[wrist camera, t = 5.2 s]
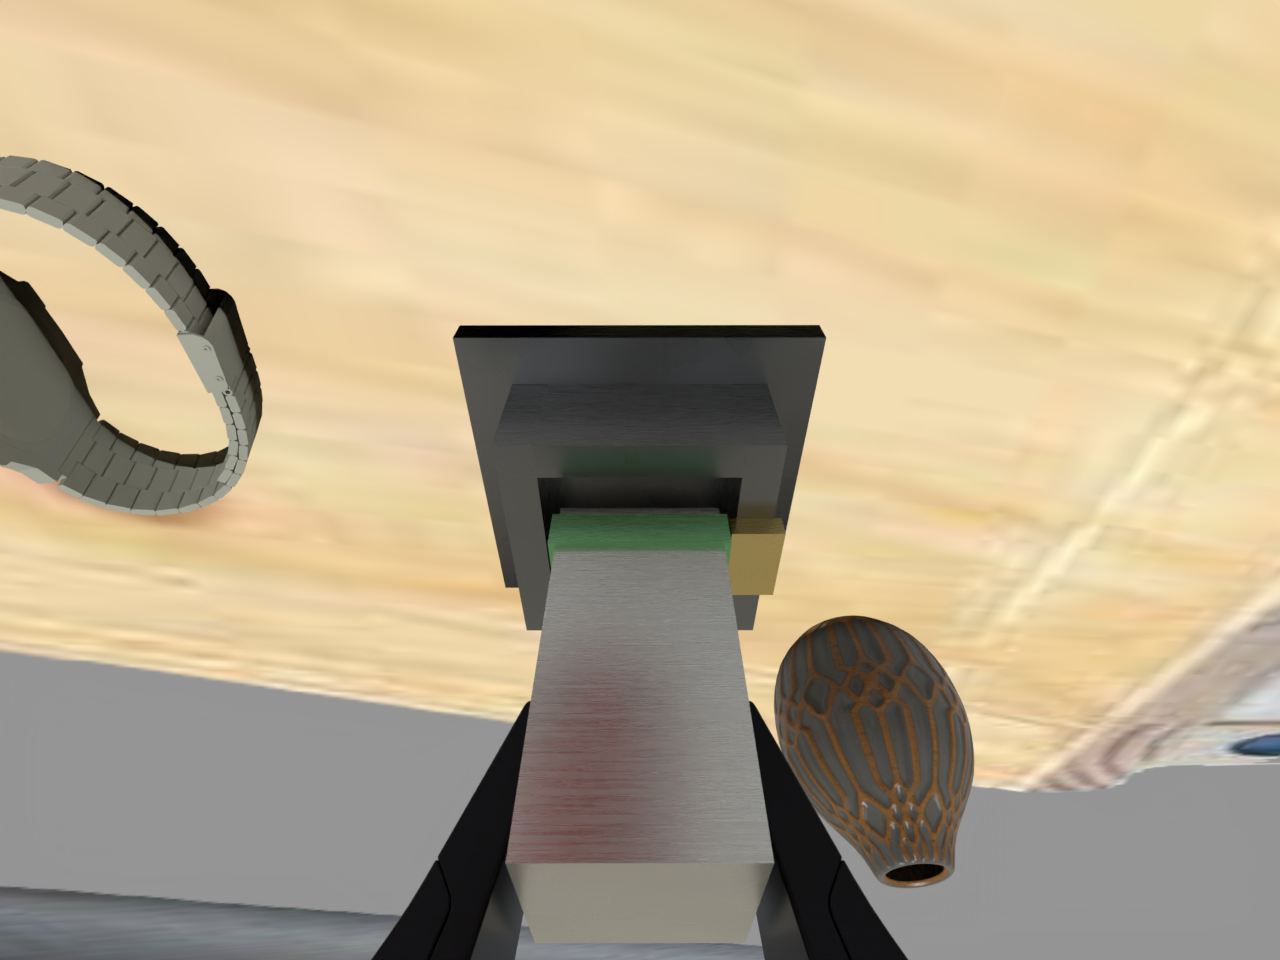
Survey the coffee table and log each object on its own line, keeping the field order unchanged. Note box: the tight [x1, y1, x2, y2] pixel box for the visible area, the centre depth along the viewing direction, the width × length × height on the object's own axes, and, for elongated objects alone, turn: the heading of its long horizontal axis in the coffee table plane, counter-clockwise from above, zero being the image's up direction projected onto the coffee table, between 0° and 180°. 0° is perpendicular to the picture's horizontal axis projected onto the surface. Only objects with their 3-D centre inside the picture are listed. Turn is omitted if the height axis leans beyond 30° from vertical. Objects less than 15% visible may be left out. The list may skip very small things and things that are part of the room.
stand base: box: [453, 325, 826, 630], centre depth 18 cm, size 10×10×4 cm
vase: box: [774, 615, 974, 888], centre depth 22 cm, size 7×7×9 cm
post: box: [505, 508, 774, 943], centre depth 13 cm, size 4×4×8 cm
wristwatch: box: [0, 155, 263, 516], centre depth 15 cm, size 9×6×5 cm
